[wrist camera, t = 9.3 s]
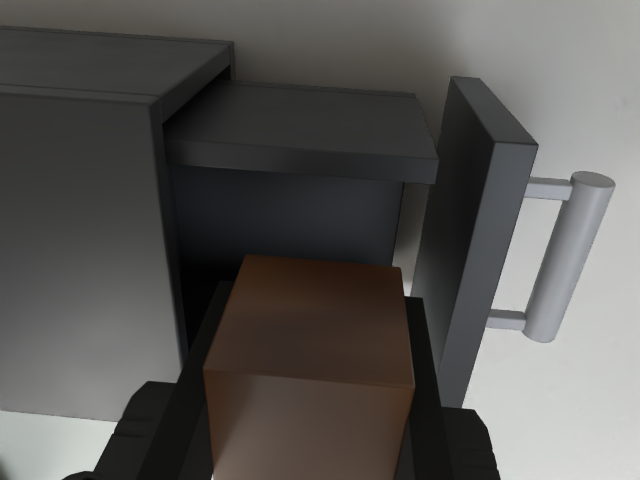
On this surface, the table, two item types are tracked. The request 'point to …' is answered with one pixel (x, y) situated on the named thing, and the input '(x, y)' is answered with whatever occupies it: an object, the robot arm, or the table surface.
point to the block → (310, 372)
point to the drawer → (373, 201)
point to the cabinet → (91, 215)
